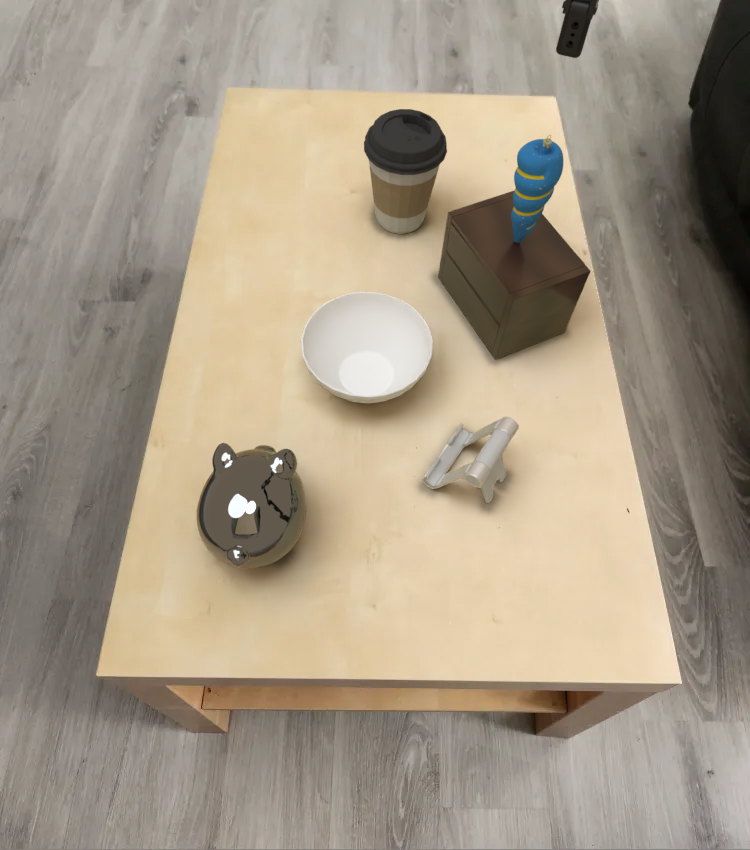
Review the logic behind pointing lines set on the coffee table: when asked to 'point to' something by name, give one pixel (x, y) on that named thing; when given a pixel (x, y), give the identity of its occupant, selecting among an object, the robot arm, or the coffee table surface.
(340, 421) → the coffee table surface
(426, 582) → the coffee table surface
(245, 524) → the piggy bank
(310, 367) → the bowl
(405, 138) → the coffee cup
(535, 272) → the wooden drawer cabinet
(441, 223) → the coffee table surface
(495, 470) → the tablet stand
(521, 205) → the ornament
